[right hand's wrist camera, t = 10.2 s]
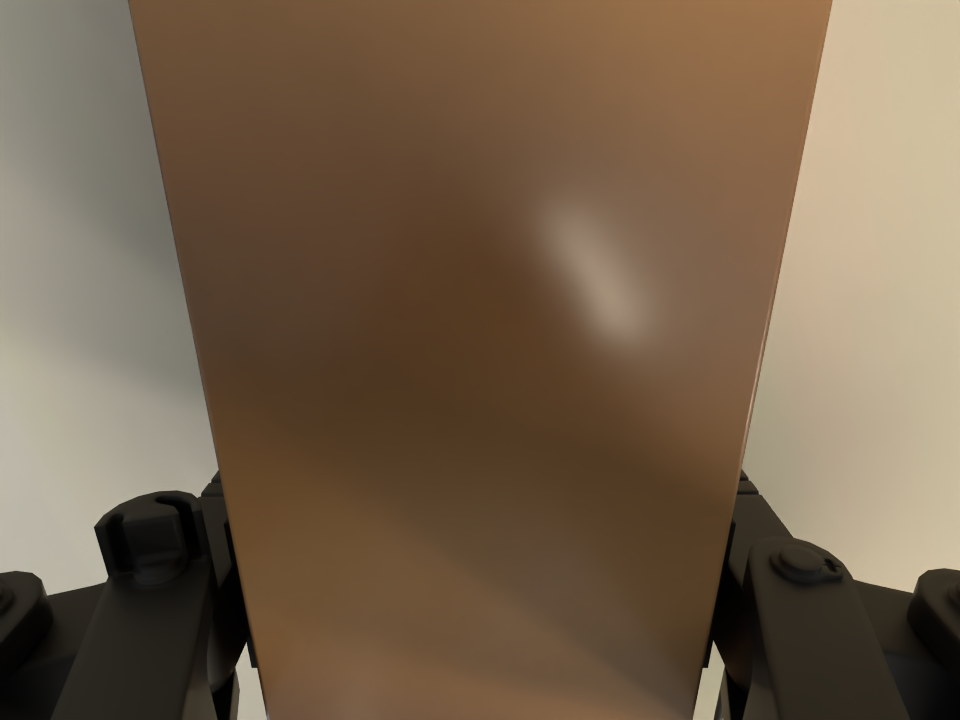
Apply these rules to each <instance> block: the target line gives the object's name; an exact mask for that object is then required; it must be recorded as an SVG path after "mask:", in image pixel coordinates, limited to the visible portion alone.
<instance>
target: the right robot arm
mask: <svg viewBox="0 0 960 720" xmlns="http://www.w3.org/2000/svg"><path fill="white" fill-rule="evenodd" d="M94 529H95V533H96V536H97V539H98V543H99V546H100V549H101V553H102V556H103V560H104V563H105V566H106V570H107V573H108V579H107V581H106V582H105V583H101V584H98V585H94V586H90V587H85V588H80V589H76V590H71V591H67V592H62V593H57V594H53V595H48V596H47V594H46V591H45V589H44V586H43V583H42V580H41V579H40V578H38V577H37V576H36V575H34V574H33V573H29V572H20V571H12V572H5V573H0V720H237V713H238V703H239V692H240V689H239V683H238V677H237V672H236V668H235V666H236V664H237V662H238V660H239V657H240V655H241V653H242V651H243V648H244V646H245V644H246V642H247V646H248V651H249V656H250V662H251V667H252V668H257V664H256V659H255V653H254V648H253V643H252V638H251V633H250V628H249V622H248V617H247V612H246V607H245V602H244V597H243V591H242V586H241V581H240V576H239V571H238V566H237V560H236V555H235V550H234V545H233V540H232V535H231V530H230V524H229V519H228V514H227V509H226V504H225V499H224V493H223V488H222V483H221V478H220V473H219V470H218V472H217V473H216V474H215V476H214V477H213V478H212V480H211V483H209V484H208V485H207V486H206V488H205V489H204V490H203V492H202V493H201V497H198V498H197V497H195V496H194V495H193V494H191V493H186V492H182V491H159V492H154V493H150V494H146V495H142V496H138V497H136V498H133V499H131V500H129V501H126V502H124V503H122V504H119V505H118V506H117V507H115V508H114V509H112V510H111V511H109V512H108V513H106V514H105V515H103V517H102V518H101V519H100V520H99V522H98V523H97V524H96V525H95V527H94ZM713 640H714V642H715V644H716V647H717V649H718V651H719V653H720V655H721V658H722V660H723V662H724V664H725V668H724V672H723V677H722V682H721V687H720V691H719V696H718V701H717V706H716V710H715V716H714V720H722V719H723V720H960V571H959V570H952V569H945V568H943V569H935V570H928V571H927V572H925V573H924V574H922V575H921V576H920V577H919V578H918V581H917V584H916V587H915V590H914V592H913V593H909V592H905V591H900V590H896V589H891V588H886V587H882V586H877V585H872V584H868V583H864V582H860V581H857V580H853V578H852V576H851V574H850V573H849V571H848V570H847V568H846V567H845V565H844V564H843V563H842V562H841V561H840V560H838V559H837V558H836V557H835V556H833V555H832V554H831V553H829V552H828V551H826V550H824V549H822V548H820V547H818V546H816V545H814V544H812V543H810V542H806V541H803V540H799V539H795V538H793V536H792V535H791V534H790V532H789V531H788V530H787V528H786V527H785V526H784V524H783V523H782V522H781V520H780V519H779V518H778V517H777V515H776V514H775V513H774V511H773V510H772V509H771V507H770V506H769V505H768V503H767V502H766V501H765V499H764V498H763V497H762V495H759V491H758V490H757V489H756V487H755V486H754V485H753V483H752V482H751V481H749V480H748V477H747V475H746V474H745V473H744V471H743V470H742V469H741V473H740V479H739V484H738V489H737V494H736V499H735V504H734V509H733V515H732V520H731V525H730V530H729V535H728V540H727V545H726V551H725V556H724V561H723V566H722V571H721V576H720V581H719V587H718V592H717V597H716V602H715V607H714V612H713V617H712V623H711V628H710V633H709V638H708V643H707V648H706V653H705V659H704V664H703V668H708V664H709V659H710V654H711V649H712V644H713Z"/></svg>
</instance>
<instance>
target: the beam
mask: <svg viewBox="0 0 960 720" xmlns="http://www.w3.org/2000/svg"><path fill="white" fill-rule="evenodd" d="M128 3H129V8H130V13H131V18H132V24H133V29H134V34H135V39H136V44H137V49H138V54H139V60H140V65H141V70H142V75H143V80H144V85H145V91H146V96H147V101H148V106H149V111H150V116H151V122H152V127H153V132H154V137H155V142H156V147H157V153H158V158H159V163H160V168H161V173H162V178H163V184H164V189H165V194H166V199H167V204H168V209H169V215H170V220H171V225H172V230H173V235H174V240H175V246H176V251H177V256H178V261H179V266H180V271H181V277H182V282H183V287H184V292H185V297H186V302H187V307H188V313H189V318H190V323H191V328H192V333H193V338H194V344H195V349H196V354H197V359H198V364H199V369H200V375H201V380H202V385H203V390H204V395H205V400H206V406H207V411H208V416H209V421H210V426H211V431H212V437H213V442H214V447H215V452H216V457H217V462H218V468H219V473H220V478H221V483H222V488H223V493H224V499H225V504H226V509H227V514H228V519H229V524H230V530H231V535H232V540H233V545H234V550H235V555H236V560H237V566H238V571H239V576H240V581H241V586H242V591H243V597H244V602H245V607H246V612H247V617H248V622H249V628H250V633H251V638H252V643H253V648H254V653H255V659H256V664H257V669H258V674H259V679H260V684H261V690H262V695H263V700H264V705H265V710H266V715H267V720H693V715H694V710H695V705H696V700H697V695H698V689H699V684H700V679H701V674H702V669H703V664H704V659H705V653H706V648H707V643H708V638H709V633H710V628H711V623H712V617H713V612H714V607H715V602H716V597H717V592H718V587H719V581H720V576H721V571H722V566H723V561H724V556H725V551H726V545H727V540H728V535H729V530H730V525H731V520H732V515H733V509H734V504H735V499H736V494H737V489H738V484H739V479H740V473H741V468H742V463H743V458H744V453H745V448H746V442H747V437H748V432H749V427H750V422H751V417H752V412H753V406H754V401H755V396H756V391H757V386H758V381H759V376H760V370H761V365H762V360H763V355H764V350H765V345H766V340H767V334H768V329H769V324H770V319H771V314H772V309H773V304H774V298H775V293H776V288H777V283H778V278H779V273H780V268H781V262H782V257H783V252H784V247H785V242H786V237H787V232H788V226H789V221H790V216H791V211H792V206H793V201H794V196H795V190H796V185H797V180H798V175H799V170H800V165H801V160H802V154H803V149H804V144H805V139H806V134H807V129H808V124H809V118H810V113H811V108H812V103H813V98H814V93H815V88H816V82H817V77H818V72H819V67H820V62H821V57H822V51H823V46H824V41H825V36H826V31H827V26H828V21H829V15H830V10H831V5H832V0H128Z"/></svg>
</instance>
